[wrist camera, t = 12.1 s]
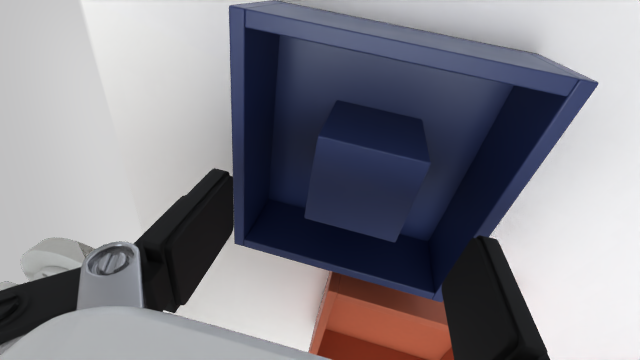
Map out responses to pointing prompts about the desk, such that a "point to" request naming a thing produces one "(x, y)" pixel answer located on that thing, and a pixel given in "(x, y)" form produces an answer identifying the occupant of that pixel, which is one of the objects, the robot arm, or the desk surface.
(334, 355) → the terracotta bin
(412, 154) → the navy block
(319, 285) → the desk surface
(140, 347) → the robot arm
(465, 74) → the navy bin
